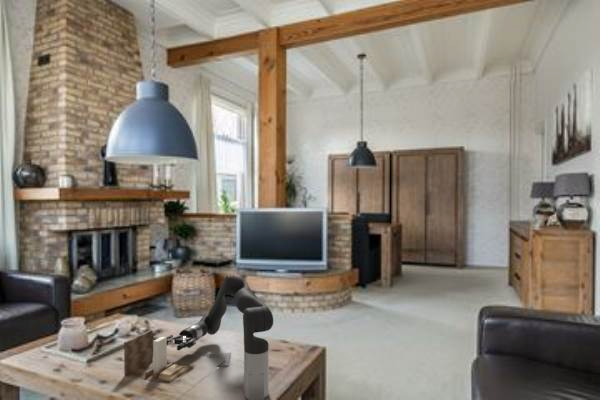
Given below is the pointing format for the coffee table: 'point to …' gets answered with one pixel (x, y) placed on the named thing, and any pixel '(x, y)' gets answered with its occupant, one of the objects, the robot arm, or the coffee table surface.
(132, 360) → the rack
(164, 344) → the block
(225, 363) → the mat
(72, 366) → the coffee table surface
